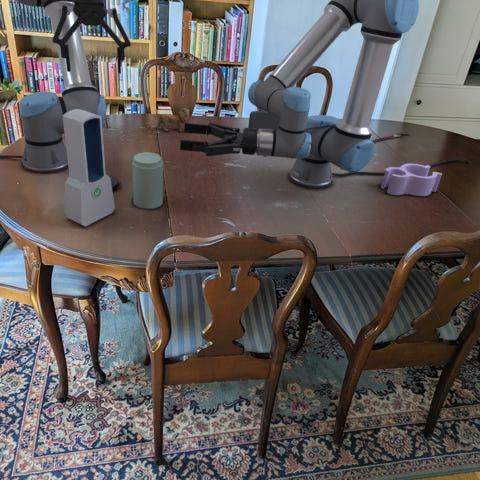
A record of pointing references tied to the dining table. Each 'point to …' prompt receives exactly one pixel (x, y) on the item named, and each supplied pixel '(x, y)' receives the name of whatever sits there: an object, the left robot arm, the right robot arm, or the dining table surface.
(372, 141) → the sword
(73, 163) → the electronic device
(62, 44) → the left robot arm
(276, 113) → the right robot arm
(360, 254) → the dining table surface
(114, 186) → the lid
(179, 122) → the lion figurine
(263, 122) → the handheld gaming console
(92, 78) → the miniature windmill
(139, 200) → the jar
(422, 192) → the clip
